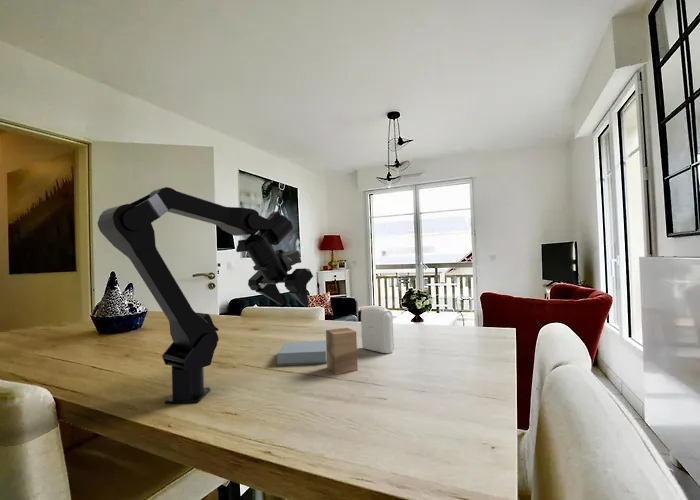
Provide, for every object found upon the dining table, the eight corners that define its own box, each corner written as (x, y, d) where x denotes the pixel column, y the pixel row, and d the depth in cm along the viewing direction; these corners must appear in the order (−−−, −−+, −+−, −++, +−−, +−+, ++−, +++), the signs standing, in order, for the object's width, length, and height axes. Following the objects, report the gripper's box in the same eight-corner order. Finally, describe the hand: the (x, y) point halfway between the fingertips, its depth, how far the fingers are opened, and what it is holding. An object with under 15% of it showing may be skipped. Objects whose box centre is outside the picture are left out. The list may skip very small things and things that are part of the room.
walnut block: (357, 370, 84) (356, 331, 85) (335, 374, 82) (334, 334, 82) (348, 364, 89) (347, 327, 90) (327, 367, 87) (325, 330, 87)
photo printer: (359, 348, 105) (358, 305, 105) (370, 345, 107) (369, 303, 108) (385, 355, 97) (383, 308, 97) (396, 352, 99) (394, 306, 100)
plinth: (326, 363, 91) (326, 351, 91) (276, 365, 90) (276, 353, 90) (328, 350, 103) (328, 340, 103) (284, 352, 103) (284, 342, 103)
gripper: (310, 234, 87) (337, 285, 94) (261, 240, 99) (289, 284, 105) (282, 263, 80) (313, 315, 87) (233, 265, 92) (264, 311, 98)
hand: (294, 304), depth 94 cm, fingers open, 9 cm apart
